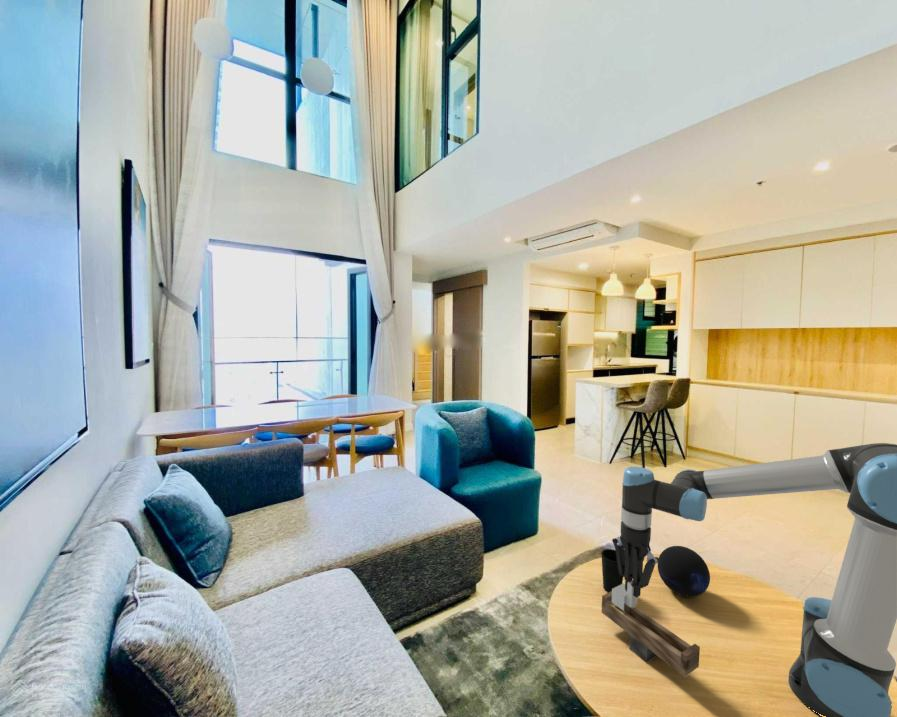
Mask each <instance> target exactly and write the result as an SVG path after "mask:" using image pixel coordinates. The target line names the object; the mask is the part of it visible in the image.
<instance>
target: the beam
mask: <svg viewBox="0 0 897 717" xmlns="http://www.w3.org/2000/svg"><path fill="white" fill-rule="evenodd" d="M611 601H612V591H611V592H609V593H608V592H606V593H604V594H603V595H602V596H601V613H602V615H604V616H606V617H607V618H608V619H609V620H610V621H612V622H613V623H614V624H616V625H617V626H618V627H620V628H621V629H623V630H624V632H626V633H627V634H629V648H628V649H629V650H630V651H631V652H632V653H634V654H635V655H636V656H637V657H638V658H640V659H641V660H642V661H644V662H645V663H646V664H647V663H649V662H650V661H651V660H654V659H655V658H656V657H658V658H660V659H661V660H662V661H664V662H665V663H666V664H667V665H669V666H670V667H672V668H673V669H674V670H675V671H677V672H678V673H679V674H681V675H682V676H683V677H684V678H686V677H687V676H690V674H691V673H693V672H694V671H695V670H696V669H698V668H699V667H700V652H701V651H700V650H701V649H700V648H701V647H700V646H699V645H698V644H696V643H693V644H692V645H691V644H690V643H688V642H687V641H685V640H684V639H682V638H681V637H680V636H678V635H676V634H675V633H673V632H672V631H671V630H669V629H668V628H666V627H665V626H663V624H661V623H659V622H658V621H656V620H655V619H653V618H652V617H650V616H649V615H647V614H646V613H645V612H643V611H642V610H640V609H639V608H637V606H634V607H632V608H631V607H630V614H627V613H626V612H625V611H623V610H622V609H620V608H619V607H618V606H616V605H615V604H613V603H612V602H611Z"/></svg>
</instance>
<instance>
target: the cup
mask: <svg viewBox="0 0 897 717" xmlns="http://www.w3.org/2000/svg"><path fill="white" fill-rule="evenodd" d="M600 554H601V570H602V588H603V590H604V591H605V592H606V593H609V592H611V591H612V589H613V588H615V587H617V586H619V585H621V584H623V581H624V577H623V576H622V575H620V574H619V570H618V564H617V557H616V551H615V549H613V548H607V549H603V550H602V551H601V552H600Z"/></svg>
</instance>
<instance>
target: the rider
mask: <svg viewBox="0 0 897 717" xmlns="http://www.w3.org/2000/svg"><path fill="white" fill-rule="evenodd" d="M611 602H612V603H613V604H615V605H616V606H618V607H619V608H620V609H622V610H623V611H625V612H626V613H627V614H630V607H629V606H628V605H627V591H626V590H625V583H622V584H621V585H619V586H617V587H615V588H613V589H612V601H611Z"/></svg>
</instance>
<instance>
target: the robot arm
mask: <svg viewBox="0 0 897 717" xmlns="http://www.w3.org/2000/svg"><path fill="white" fill-rule="evenodd" d="M622 478H623V479H622V482H621V483H622V484H621V485H622V489H621V490H622V493H621V495H622V496H621V498H622V499H621V500H622V501H621V512H620V513H621V514H620V520H621V521H620V536H617V537H614V538H612V540H611V541H612V543H613V546H614V550H615V551H616V557H617V564H618V570H619V574H620V575H622V576H623V580H624V584H625V590H626V591H627V605H628V606H629V607H631V608H632V607H634V606H635V607H637V605H638V600H639V598H638V597H640V596H641V591H642V589H643V588H646V587H648V586H649V585H650V581H651V578H652V575H653V571H654V568H655V566H656V565H657V564H658V562H659V556H654V554H653V553H652V552H651V551H652V550H651V546H650V543H651V537H652V536H651V535H652V528H651V526H652V517H653V516H652V514H653V510H657V511H660V512H664V513H667V514H670V515H672V516H673V515H674V516H677V517H680V518H683V519H685V520H691V521H695V522H702V521H704V520H705V517H706V513H707V507H708V506H707V505H708V500H714V499H728V498H739V497H741V498H742V497H753V496H766V495H776V494H777V495H778V494H779V495H780V494H791V493H804V492H817V491H818V492H819V491H827V490H828V491H829V490H830V491H831V490H840V491H842V492H844V493H846V494H849V497H848V501H847V505H846V508H847V510H848V511H849V512H850V514H851V515H852V516H853V517H854V521H853V523H852V524H853V525H852V528H851V531H850V535H849V537H848V538H849V539H848V541H847V542H848V543H847V545H846V548H845V552H844V556H843V560H842V563H841V567H840V571H839V573H838V577H837V581H836V585H835V587H834V592H833V595H832V599H827V598H823V597H817V596H816V597H815V596H812V597H808V598H806V599H804V604H803V605H804V606H803V607H802V610H803V615H802V616H803V618H802V626H801V627H802V628H801V630H802V631H801V642H800V654H799V655H798V657H797V658H796V660H795V661H794V662H793V664H792V665H791V666H790V668H789V670H788V678H787V679H788V680H787V681H788V685H789V687H790V689H791V692H793V694H794V695H795V696H796V698H799V699H800V700H801V701H802V702H803V703H804V704H803V703H802V702H801V701H800V700H799V699H798V700H799V701H800V702H801V703H802V704H803V705H805V704H806V705H807V706H808V707H810V708H811V709H812V710H814V711H815V712H817V713H819V714H821V715H823V716H826V717H891V715H892V707H893V705H892V704H893V703H892V700H891V697H890V695H889V690H890V686H891V682H892V680H893V676H894V673H895V670H896V666H897V663H896V660H895V658H894V657H893V655H892V654H891V653H890V651H889V649H888V648H889V644H890V641H891V638H892V635H893V632H894V629H895V626H896V623H897V444H896V443H887V442H881V443H879V442H878V443H877V442H876V443H868V444H861V445H853V446H849V447H841V448H836V449H834V448H833V449H829V450H826V451H825V452H824V454H823V455H817V456H809V457H800V458H792V459H784V460H777V461H768V462H762V463H761V462H760V463H753V464H747V465H738V466H737V465H736V466H728V467H720V468H712V469H707V470H696V469H695V470H694V469H691V468H689V469H688V468H687V469H684V470H681V471H680V472H678V473H676V475H675V476H674V478H673V479H672V481H671V483H669V482H665V481H660V480H657V479H655V475H654V472H653V471H652V470H650V469H647V468H645V467H642V466H629V467H627V468H625V469H624V471H623V477H622ZM645 557H646V559H645ZM645 561H646V562H645ZM644 562H645V565H644ZM806 705H805V706H806ZM807 706H806V707H807ZM808 707H807V708H808ZM811 709H810V710H811ZM812 710H811V711H812ZM815 712H814V713H815Z"/></svg>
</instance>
